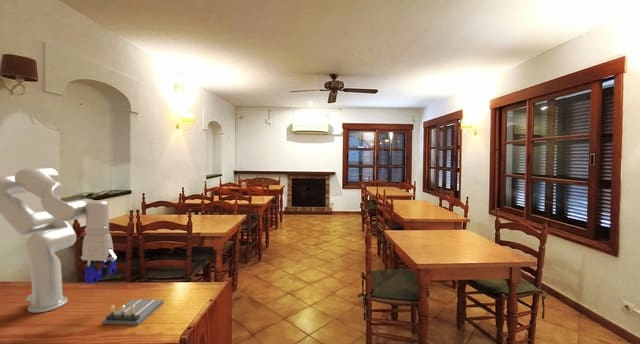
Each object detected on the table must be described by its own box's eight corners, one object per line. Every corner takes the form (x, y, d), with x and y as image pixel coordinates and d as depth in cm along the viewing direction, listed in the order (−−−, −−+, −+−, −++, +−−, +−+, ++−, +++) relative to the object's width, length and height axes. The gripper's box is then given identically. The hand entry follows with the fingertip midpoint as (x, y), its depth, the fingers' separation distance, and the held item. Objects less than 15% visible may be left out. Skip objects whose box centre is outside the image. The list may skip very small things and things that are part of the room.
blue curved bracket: (106, 271, 136) (106, 257, 136) (115, 271, 135) (115, 258, 135) (81, 282, 124) (81, 267, 124) (91, 283, 123) (91, 268, 123)
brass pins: (106, 320, 120) (105, 306, 120) (109, 317, 122) (109, 304, 122) (136, 320, 120) (136, 307, 119) (139, 318, 122) (139, 305, 121)
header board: (102, 323, 120) (102, 320, 120) (132, 302, 137) (131, 299, 137) (138, 324, 119) (138, 321, 119) (163, 303, 136) (163, 300, 136)
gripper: (69, 233, 125) (71, 278, 126) (111, 234, 124) (112, 280, 125) (85, 228, 132) (86, 271, 134) (124, 229, 131) (125, 272, 133)
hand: (99, 275), depth 129 cm, fingers closed on blue curved bracket, 4 cm apart
